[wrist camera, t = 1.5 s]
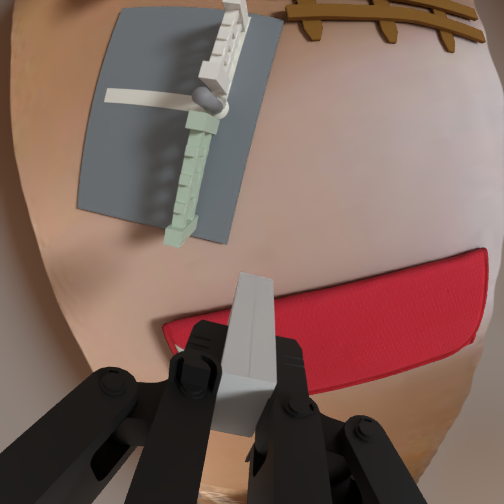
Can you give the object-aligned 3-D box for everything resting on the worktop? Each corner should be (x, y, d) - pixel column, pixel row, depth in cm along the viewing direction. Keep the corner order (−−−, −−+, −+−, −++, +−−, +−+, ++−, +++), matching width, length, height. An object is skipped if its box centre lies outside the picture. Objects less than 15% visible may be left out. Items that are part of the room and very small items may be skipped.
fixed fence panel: (235, 19, 22) (227, -11, 16) (249, 21, 22) (244, -9, 16) (213, 92, 25) (198, 77, 19) (227, 94, 25) (216, 79, 19)
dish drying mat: (467, 339, 34) (479, 352, 31) (206, 398, 39) (202, 416, 36) (480, 243, 29) (496, 253, 26) (166, 310, 34) (157, 327, 31)
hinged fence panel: (210, 99, 25) (194, 85, 19) (224, 101, 25) (212, 88, 19) (182, 225, 29) (161, 245, 23) (196, 228, 29) (178, 249, 23)
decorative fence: (274, -26, 20) (291, 44, 24) (275, -35, 18) (293, 37, 22) (460, -2, 18) (481, 61, 21) (468, -7, 16) (490, 59, 19)
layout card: (124, 10, 22) (121, 8, 21) (283, 22, 22) (284, 19, 22) (80, 206, 30) (76, 208, 29) (227, 242, 30) (226, 244, 30)
